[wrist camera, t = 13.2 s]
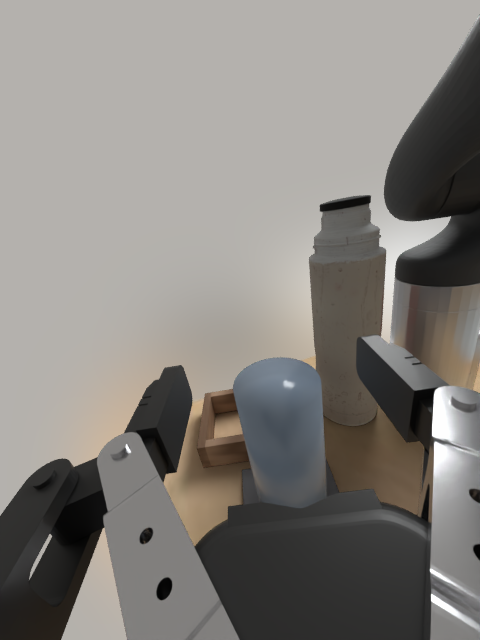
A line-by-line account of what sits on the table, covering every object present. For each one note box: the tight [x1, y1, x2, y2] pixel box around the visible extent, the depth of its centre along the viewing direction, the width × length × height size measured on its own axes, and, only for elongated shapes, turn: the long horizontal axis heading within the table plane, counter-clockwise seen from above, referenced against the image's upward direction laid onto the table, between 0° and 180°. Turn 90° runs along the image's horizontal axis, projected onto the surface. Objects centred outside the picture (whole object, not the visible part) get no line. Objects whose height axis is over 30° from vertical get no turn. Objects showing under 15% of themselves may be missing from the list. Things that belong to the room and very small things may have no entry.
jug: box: [233, 358, 327, 508], centre depth 22 cm, size 6×9×16 cm
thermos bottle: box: [309, 195, 386, 426], centre depth 31 cm, size 8×8×28 cm
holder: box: [197, 389, 249, 468], centre depth 34 cm, size 10×10×4 cm
